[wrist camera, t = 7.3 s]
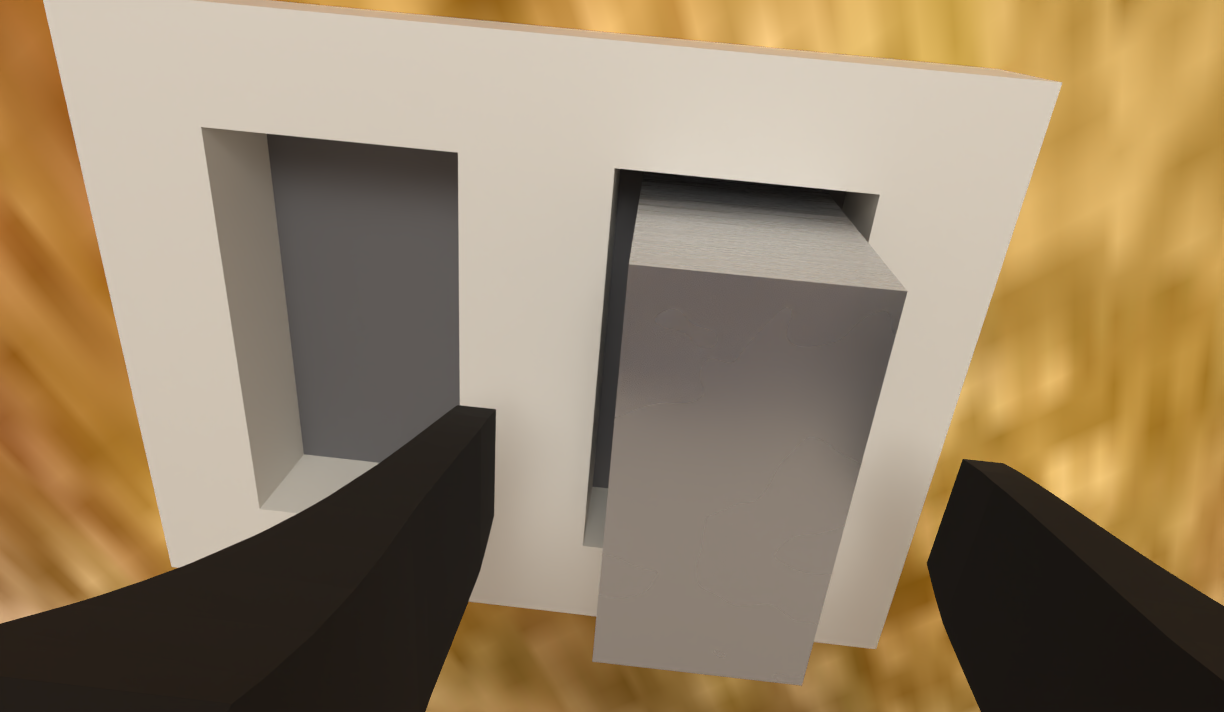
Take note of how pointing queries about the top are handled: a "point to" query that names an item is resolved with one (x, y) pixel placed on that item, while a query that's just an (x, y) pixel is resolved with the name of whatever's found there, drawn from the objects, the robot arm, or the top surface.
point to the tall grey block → (737, 424)
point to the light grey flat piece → (494, 251)
